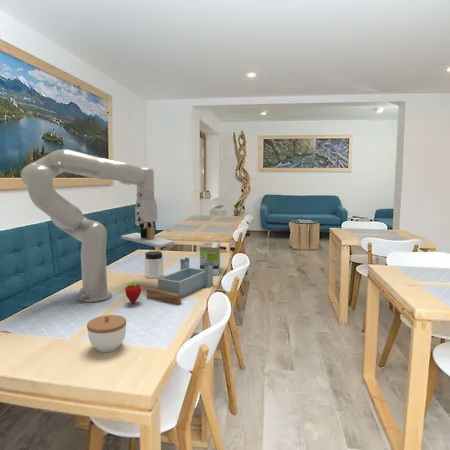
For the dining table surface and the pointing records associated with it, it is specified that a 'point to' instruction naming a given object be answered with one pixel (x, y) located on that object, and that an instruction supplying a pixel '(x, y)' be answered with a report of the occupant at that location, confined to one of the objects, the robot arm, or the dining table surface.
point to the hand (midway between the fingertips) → (146, 236)
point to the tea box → (210, 255)
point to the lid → (148, 238)
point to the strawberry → (133, 292)
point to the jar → (153, 264)
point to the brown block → (164, 296)
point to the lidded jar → (106, 332)
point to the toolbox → (187, 279)
